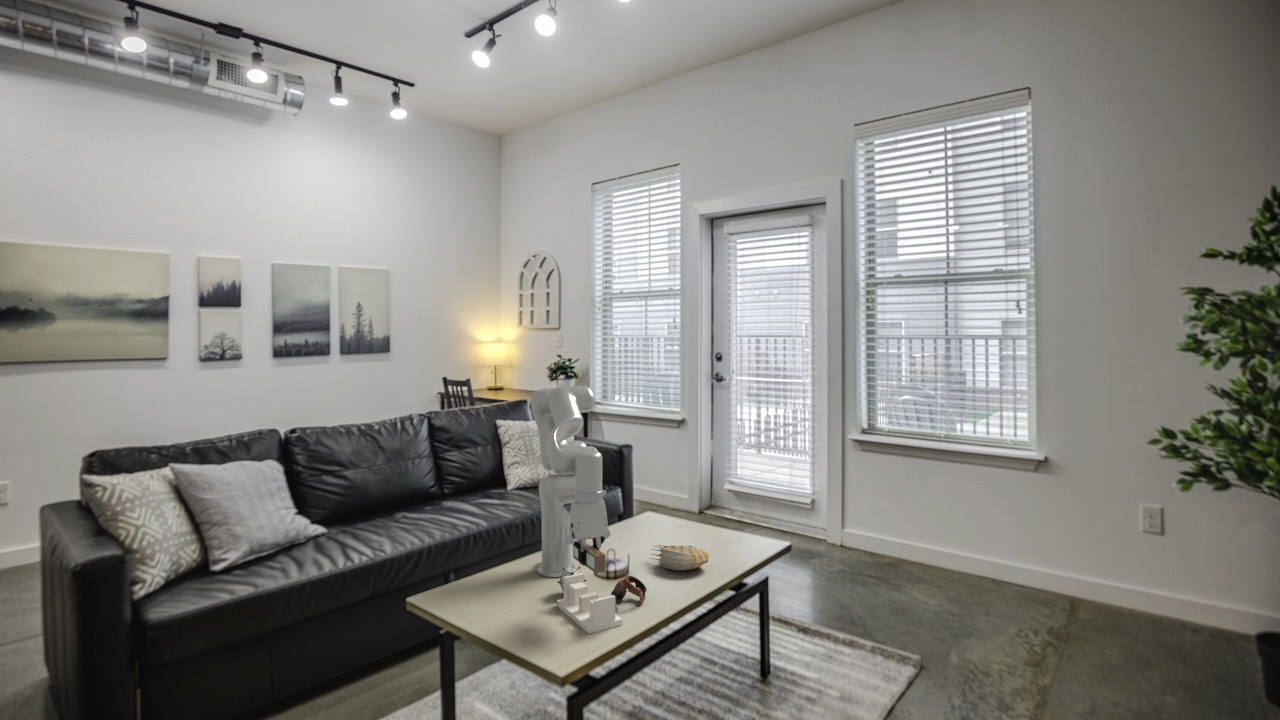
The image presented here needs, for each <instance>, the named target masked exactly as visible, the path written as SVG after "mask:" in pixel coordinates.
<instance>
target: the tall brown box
mask: <svg viewBox="0 0 1280 720" xmlns="http://www.w3.org/2000/svg"><path fill="white" fill-rule="evenodd" d="M592 546H593V545H590V544H589V543H588V542H586V541H585V551H586V566H585V567H586V568H587V569H589V570H591V571H592V572H594V573H595V574H600V573H604V572H606V569H607V568H606V566H607V565H606V561H607V560H606V557H607V555H606V554H605V553H604V552H602V551H600V549H599V550H597V549H595V548H594V547H592ZM572 548H573V551H572V555H573V556H572V557H573V559H574V560H575V561H577V562H579V561H578V549H577V548H576V547H575V546H574V545H572Z"/></svg>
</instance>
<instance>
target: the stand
mask: <svg viewBox="0 0 1280 720" xmlns="http://www.w3.org/2000/svg"><path fill="white" fill-rule="evenodd" d="M584 580H585V573H584V572H581V573H580V574H575V575H570V576H566V577H564V593H563V595H564V597H563V598H561V599H557V600H556V606H557V607H558V608H559V609H560V610H561V611H562V612H563V613H564V614H566V615H567V616H568V617H569V618H571V620H572V621H574V622H575V623H576V624H577V625H578V626H579V627H580V628H581V629H582V630H584V631H585V632H586V633H587V634H588V635H589V634H594V633H598V632H601V631H605V630H608V629H612V628H616V627H619V626H623V618H622V617H620V616H619V615H617V614H616V603H615V596H614V595H612V596H611V595H608V596H604V597H599V593H597V592H596V591H595V592H588V590H589V589H588V585H586V584H585V582H584Z"/></svg>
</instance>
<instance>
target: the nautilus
mask: <svg viewBox="0 0 1280 720" xmlns="http://www.w3.org/2000/svg"><path fill="white" fill-rule="evenodd" d="M654 547H655V548H657V547H658V548H659V549H654V548H652V550H653V551H656V552H660V553H659V554H654V553H651V555H652V556H657V557H659V558H651V557H650V559H651V560H657V561H653V563H654V562H655V563H658V564H659V565H660V566H662V567H663V568H666V569H669V570H673V571H677V570H678V571H681V572H682V571H683V572H684V571H687V572H688V571H692V570H694V569H697V568H699V567H701V566H703V565H704V564H707V563H708V562H709V559H710V556H709V555H710V554H709V553H708V552H707V551H706V550H704V549H701V548H698V547H696V546H692V545H683V546H682V545H675V544H674V545H660V544H658V545H656V546H655V545H654ZM678 571H677V572H678Z"/></svg>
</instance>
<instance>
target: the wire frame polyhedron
mask: <svg viewBox="0 0 1280 720" xmlns="http://www.w3.org/2000/svg"><path fill="white" fill-rule="evenodd" d="M562 569H563V573H562V576H561V577H560V578H559V581H557V582H556V583H557V584H559V585H560V587H561V590H562V592H563V595H562V597H563V598H564V577H566V576H570V575H575V574H580V573H582V572H581V571H580V569H581V566H580V565H579V566H578V567H577V568H576V569H564V567H562ZM587 581H588V580H586V579H584V583H585V582H587Z"/></svg>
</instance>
